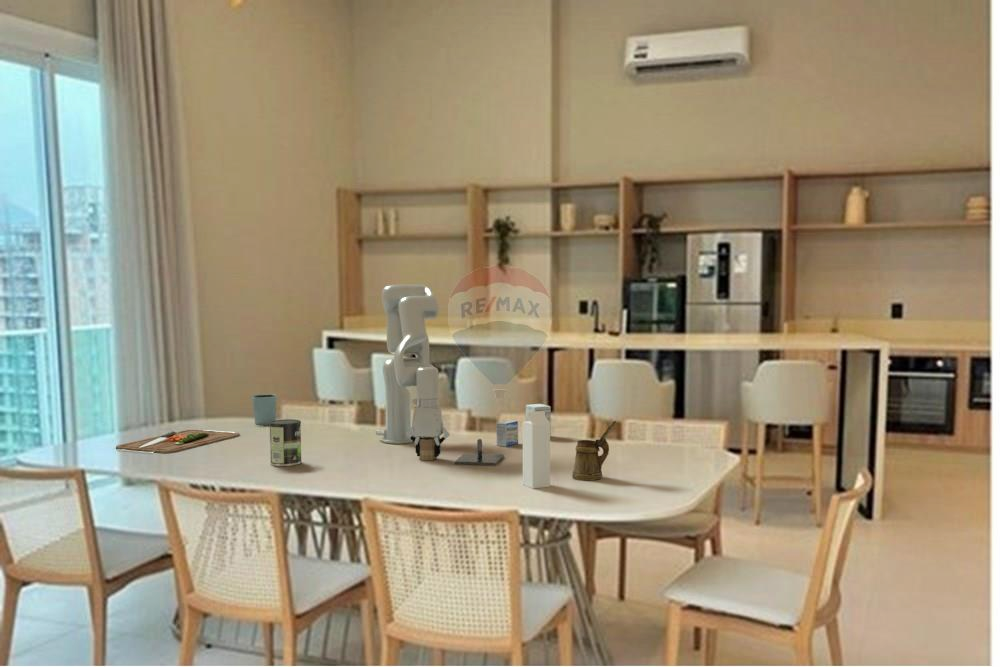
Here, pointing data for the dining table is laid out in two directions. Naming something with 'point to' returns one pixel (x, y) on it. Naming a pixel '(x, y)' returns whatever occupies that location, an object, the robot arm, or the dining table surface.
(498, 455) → the holder
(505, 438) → the medicine box
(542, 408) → the supplement box
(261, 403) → the blue cup
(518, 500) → the dining table surface
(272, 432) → the coffee can
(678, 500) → the dining table surface
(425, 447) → the cylinder
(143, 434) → the dining table surface
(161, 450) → the chopping board
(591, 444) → the wooden mug
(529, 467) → the milk
